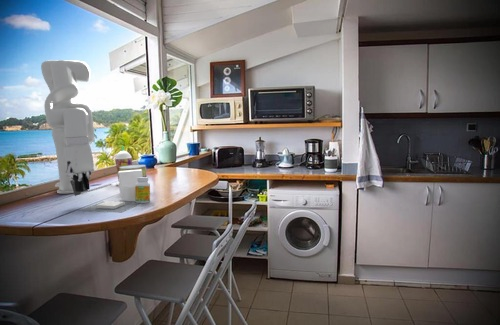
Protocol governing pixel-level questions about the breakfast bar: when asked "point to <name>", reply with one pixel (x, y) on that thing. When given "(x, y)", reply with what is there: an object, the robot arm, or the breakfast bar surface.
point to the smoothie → (122, 160)
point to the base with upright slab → (128, 184)
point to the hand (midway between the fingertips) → (82, 190)
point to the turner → (84, 187)
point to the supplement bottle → (142, 190)
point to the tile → (110, 205)
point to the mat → (121, 209)
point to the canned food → (134, 168)
